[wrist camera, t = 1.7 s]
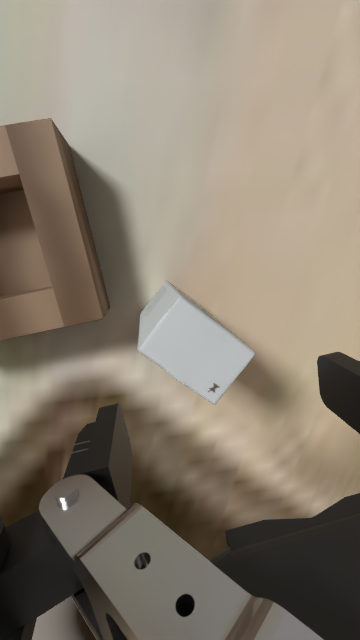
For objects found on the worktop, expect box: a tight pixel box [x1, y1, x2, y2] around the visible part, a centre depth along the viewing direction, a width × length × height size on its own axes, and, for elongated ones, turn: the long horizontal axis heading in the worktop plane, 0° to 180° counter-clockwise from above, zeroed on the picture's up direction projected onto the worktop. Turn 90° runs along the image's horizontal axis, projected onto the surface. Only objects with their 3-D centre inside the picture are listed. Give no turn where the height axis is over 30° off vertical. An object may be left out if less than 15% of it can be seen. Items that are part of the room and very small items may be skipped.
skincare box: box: [137, 281, 255, 404], centre depth 23 cm, size 6×4×12 cm
